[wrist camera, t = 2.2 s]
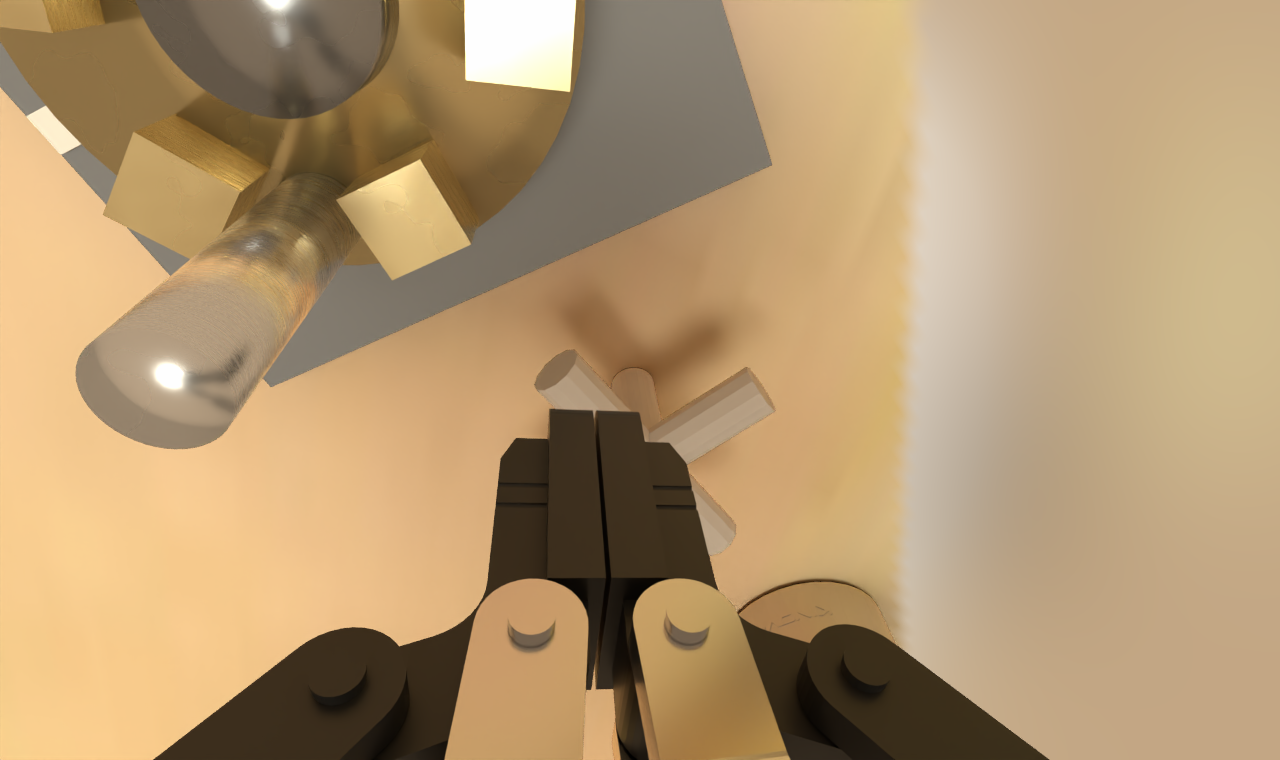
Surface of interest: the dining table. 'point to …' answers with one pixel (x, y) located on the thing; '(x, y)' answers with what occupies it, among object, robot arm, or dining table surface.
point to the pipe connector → (666, 419)
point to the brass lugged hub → (284, 162)
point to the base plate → (538, 170)
